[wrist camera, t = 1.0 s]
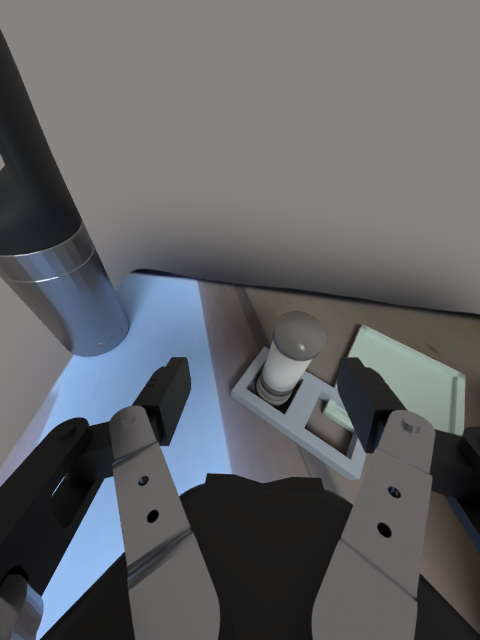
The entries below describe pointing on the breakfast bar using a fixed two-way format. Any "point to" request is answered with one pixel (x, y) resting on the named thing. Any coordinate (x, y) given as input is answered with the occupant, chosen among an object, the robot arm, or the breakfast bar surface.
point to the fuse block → (302, 417)
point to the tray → (409, 382)
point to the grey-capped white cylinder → (289, 355)
